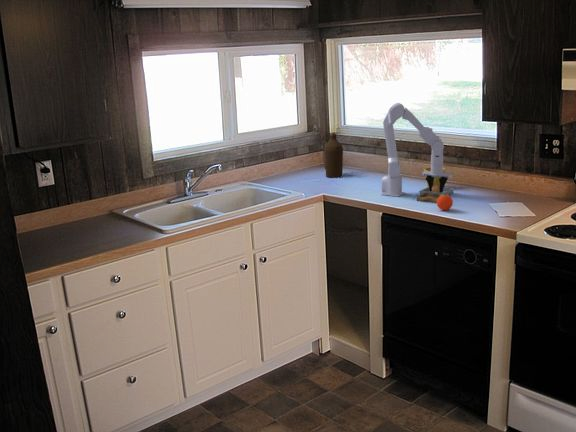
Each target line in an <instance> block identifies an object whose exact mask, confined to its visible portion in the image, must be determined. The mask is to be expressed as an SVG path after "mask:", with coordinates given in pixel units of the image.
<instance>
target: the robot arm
mask: <svg viewBox="0 0 576 432" xmlns="http://www.w3.org/2000/svg"><path fill="white" fill-rule="evenodd" d="M401 118H402V120H405V121H408V122H409V123H410V124H411V125H412V126H413V127H415V128H416V130H417V131H418V132H419V134H418V135H419V137H421V138H422V140H423V141H424V142H425V143H426V144H427V145H428V146H430V148H431V154H430V167H431V172H424V171H422V172H421V176H422V177H425V176H427V177H425V180H426V181H427V182H426V184H427V183H428V185H429V189H430V191H432V186H433V182H434V177H441V178H440V179H439V182H440V193H441V192H443V189H444V187H445V185H446V183H447V181H448V180H449V179H450V180H451V179H452V178H453V173H447V172H445V173H443V168H444V148H445V146H444V145H445V144H444V142H443V140H442V138H440V136H439V135H437V134H435V132H434V131H433V130H434V129H433V128H432V127H429V126H424V125H423V124H422V122H421V121H420V120H419V119H418V118H417V117H416V116H415V114H414V113H413V112H411V110H409V109H408V108H407V107H405V106H404V105H403V104H402V103H400V102H396V103H394V104H393V105H391V107H390V108H389V109H388V112H387V113H386V115H385V117H384V119H383V122H382V124H383V131H384V139H385V146H386V153H387V159H388V160H387V161H388V168H387V174H386V175H384V176H383V177H382V179H381V193H380V194H381V195H382V196H391V197H400V196H403V195H404V194H406V192H403V175H402V165H401V163H400V162H399V158H398V150H397V144H396V138H395V137H396V136H395V129H394V124H395V123H396V122H397V121H398V120H399V119H401ZM381 195H380V196H381Z"/></svg>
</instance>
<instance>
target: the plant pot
mask: <svg viewBox="0 0 576 432" xmlns="http://www.w3.org/2000/svg"><path fill="white" fill-rule="evenodd" d="M423 172H431V166H430V167H425V168H424V169H423ZM443 173H446V169H445V167H443ZM424 177H425V178H426V177H427V176H424ZM440 178H441V177H434V182H433V185H434V184H439V185H440V182H439V179H440ZM427 187H429V185H428V183H427V181H426V188H427Z"/></svg>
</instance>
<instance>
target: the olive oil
mask: <svg viewBox="0 0 576 432" xmlns="http://www.w3.org/2000/svg"><path fill="white" fill-rule="evenodd" d="M329 137H330V138H329V140H328V142H327V143H326V144H325V145H324V149H323V153H324V154H323V155H324V169H325V177H326V178H329V179H331V178H332V179H338V178H342V177H343V166H344V163H343V160H344V157H343V156H344V148H343V145H342V144H341V143H340V141H339V140H338V139H337V132H335V131H332V132H330V133H329Z"/></svg>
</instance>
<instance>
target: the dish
mask: <svg viewBox="0 0 576 432" xmlns="http://www.w3.org/2000/svg"><path fill="white" fill-rule="evenodd" d="M424 193H431V194H440V195H449V196H450V195H452V194H454V188H453V187H447V186H446V187H445V186H444V189H443V192H441V193H440V192H439V193H437V192H433V191H430V189H429V187H427V186H426V187H425V188H422V189H420V190H419V193H418V194H419V195H418V196H420V195H422V194H424Z"/></svg>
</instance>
